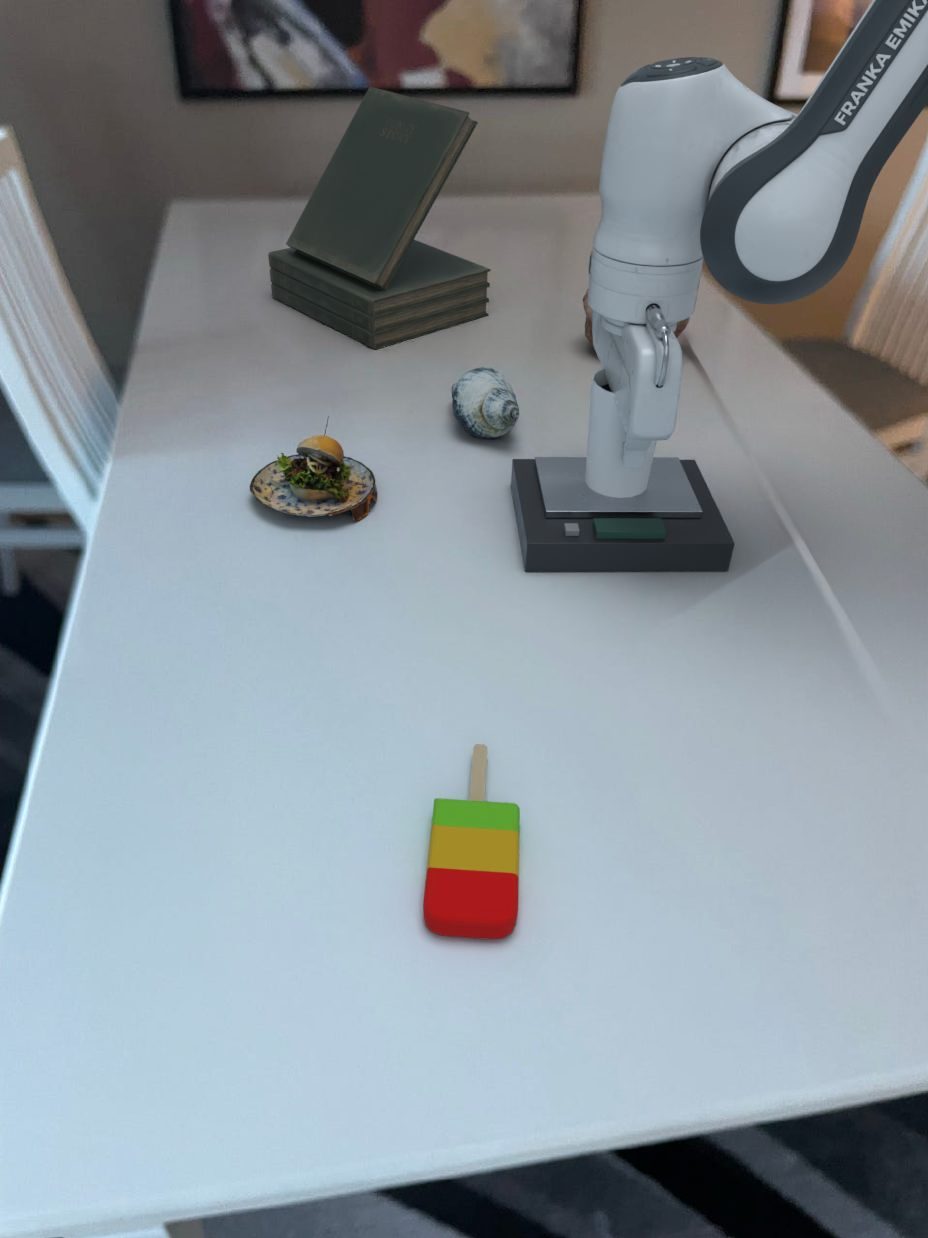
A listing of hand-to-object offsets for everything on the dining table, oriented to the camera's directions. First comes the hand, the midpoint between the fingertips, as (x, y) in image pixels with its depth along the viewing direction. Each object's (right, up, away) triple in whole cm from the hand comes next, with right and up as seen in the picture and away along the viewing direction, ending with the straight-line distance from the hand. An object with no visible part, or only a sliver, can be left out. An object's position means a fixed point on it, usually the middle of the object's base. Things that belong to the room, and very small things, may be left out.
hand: (622, 438), depth 89 cm
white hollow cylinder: (0, -4, +3) cm, 5 cm away
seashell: (-12, +5, +19) cm, 23 cm away
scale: (0, -7, +4) cm, 8 cm away
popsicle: (-13, -30, -26) cm, 42 cm away
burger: (-28, -5, +6) cm, 30 cm away
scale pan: (0, -4, +3) cm, 5 cm away
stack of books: (-26, +26, +47) cm, 60 cm away
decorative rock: (+7, +17, +37) cm, 41 cm away
